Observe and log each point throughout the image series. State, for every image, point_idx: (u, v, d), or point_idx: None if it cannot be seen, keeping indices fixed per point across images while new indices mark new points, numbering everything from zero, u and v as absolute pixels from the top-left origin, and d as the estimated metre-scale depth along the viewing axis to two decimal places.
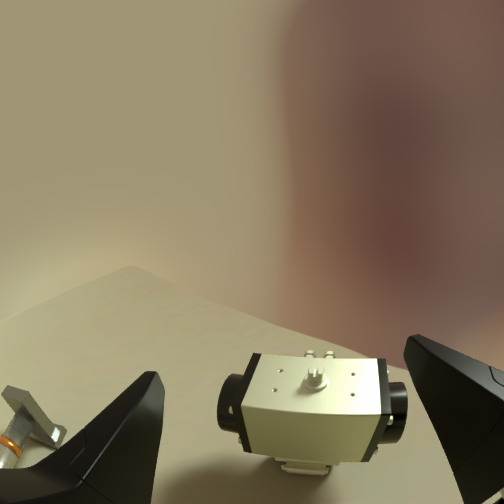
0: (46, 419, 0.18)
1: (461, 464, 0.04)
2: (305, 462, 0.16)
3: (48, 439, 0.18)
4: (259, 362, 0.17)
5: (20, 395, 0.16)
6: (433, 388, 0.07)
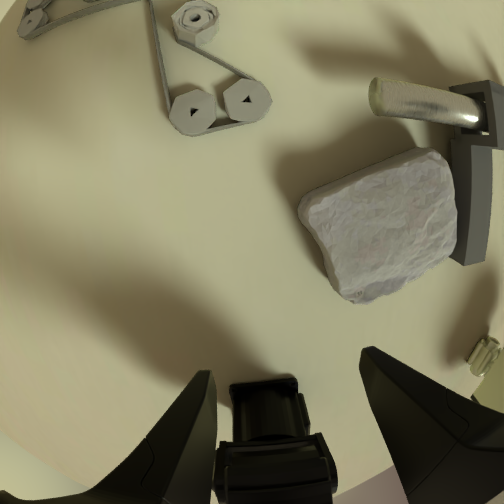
0: None
1: (413, 489, 0.04)
2: (484, 362, 0.23)
3: None
4: None
5: None
6: (384, 406, 0.07)
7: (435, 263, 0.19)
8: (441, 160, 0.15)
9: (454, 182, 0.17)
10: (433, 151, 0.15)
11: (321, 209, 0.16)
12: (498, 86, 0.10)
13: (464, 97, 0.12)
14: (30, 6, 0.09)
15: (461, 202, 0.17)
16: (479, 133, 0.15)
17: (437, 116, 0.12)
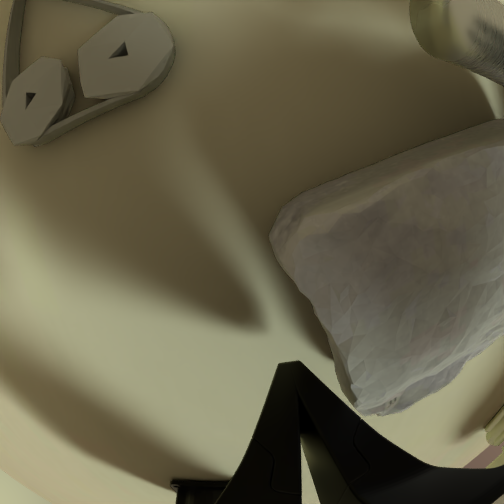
0: None
1: None
2: None
3: None
4: None
5: None
6: (301, 426, 0.07)
7: None
8: None
9: None
10: None
11: (333, 247, 0.05)
12: None
13: None
14: None
15: None
16: None
17: None
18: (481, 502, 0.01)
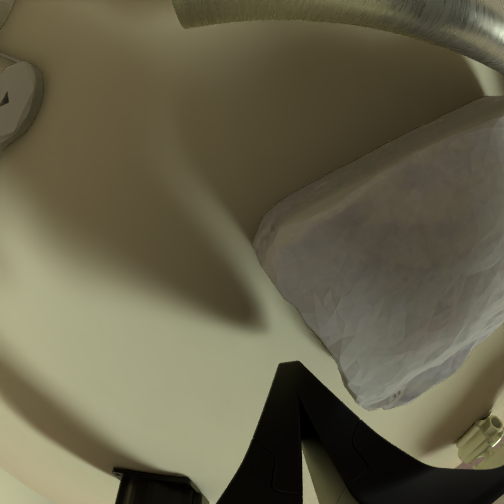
0: None
1: None
2: (477, 452, 0.13)
3: None
4: None
5: None
6: None
7: None
8: None
9: None
10: None
11: (309, 255, 0.06)
12: None
13: None
14: None
15: None
16: None
17: (434, 7, 0.02)
18: (479, 503, 0.01)
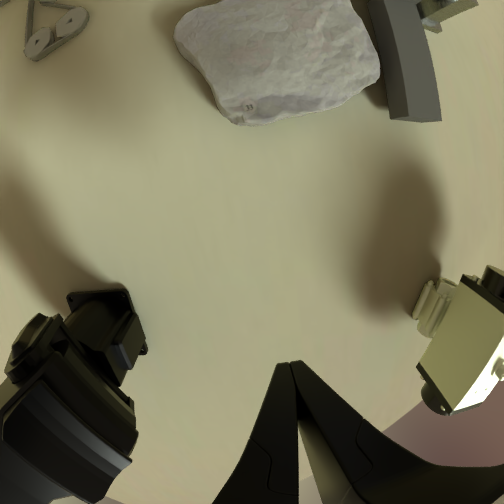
0: (446, 16, 0.11)
1: None
2: (434, 313, 0.19)
3: (418, 12, 0.13)
4: None
5: None
6: (303, 425, 0.07)
7: (359, 84, 0.14)
8: None
9: (378, 38, 0.14)
10: None
11: (186, 23, 0.12)
12: None
13: None
14: None
15: (388, 51, 0.13)
16: None
17: None
18: (484, 500, 0.01)
